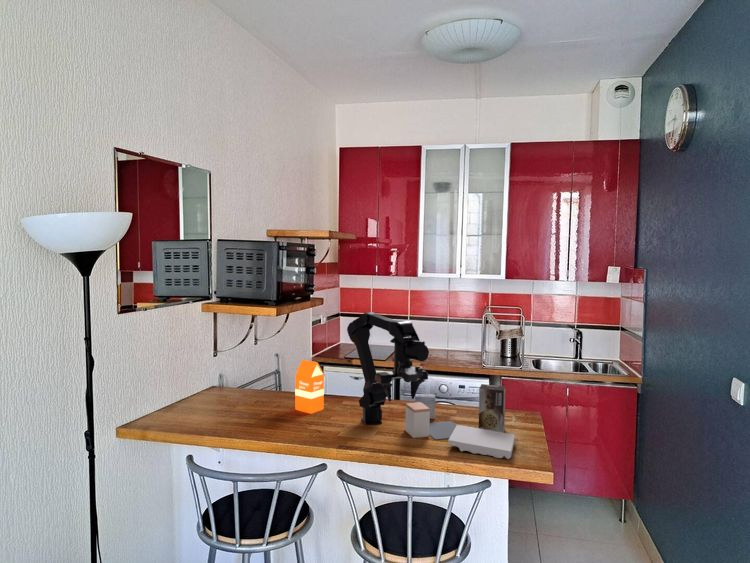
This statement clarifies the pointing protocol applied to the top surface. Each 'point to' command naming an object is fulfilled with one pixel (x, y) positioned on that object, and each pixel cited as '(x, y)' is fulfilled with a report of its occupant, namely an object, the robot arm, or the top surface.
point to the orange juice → (309, 387)
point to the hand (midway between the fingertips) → (401, 399)
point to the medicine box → (427, 402)
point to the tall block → (417, 419)
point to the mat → (441, 430)
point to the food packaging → (482, 441)
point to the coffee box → (492, 407)
